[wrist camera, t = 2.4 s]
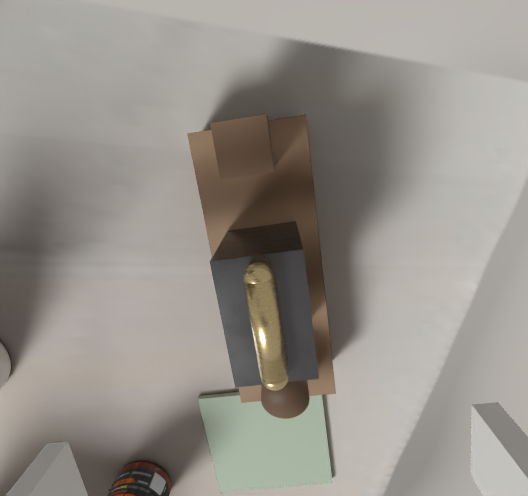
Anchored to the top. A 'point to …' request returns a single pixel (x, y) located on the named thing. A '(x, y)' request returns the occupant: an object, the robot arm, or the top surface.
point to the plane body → (267, 220)
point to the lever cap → (265, 305)
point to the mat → (265, 444)
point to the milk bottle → (4, 365)
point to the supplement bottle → (141, 481)
